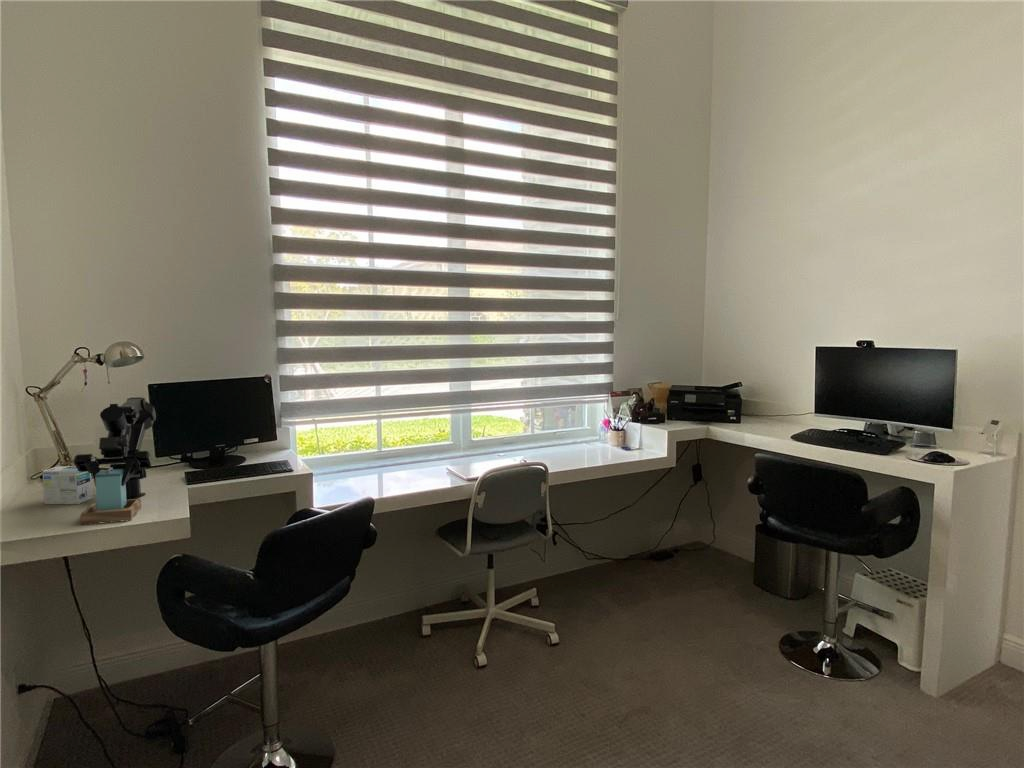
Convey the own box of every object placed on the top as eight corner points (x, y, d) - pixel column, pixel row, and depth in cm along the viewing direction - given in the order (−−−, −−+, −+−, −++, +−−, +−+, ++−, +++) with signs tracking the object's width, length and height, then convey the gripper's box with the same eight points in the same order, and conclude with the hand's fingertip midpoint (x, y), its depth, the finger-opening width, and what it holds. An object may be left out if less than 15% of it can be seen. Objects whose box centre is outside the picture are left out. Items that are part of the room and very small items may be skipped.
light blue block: (102, 505, 173) (100, 466, 171) (126, 503, 175) (124, 465, 173) (97, 510, 167) (94, 471, 166) (121, 508, 170) (119, 469, 168)
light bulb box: (93, 498, 188) (91, 465, 187) (78, 504, 182) (76, 470, 181) (59, 498, 188) (57, 465, 187) (43, 504, 181) (41, 470, 180)
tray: (94, 512, 175) (94, 502, 174) (141, 508, 179) (140, 498, 179) (81, 524, 163) (80, 514, 163) (131, 520, 168) (130, 510, 167)
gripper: (73, 427, 169) (62, 474, 160) (148, 424, 176) (141, 469, 166) (84, 448, 177) (73, 494, 168) (155, 444, 184) (149, 488, 175)
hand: (109, 486), depth 169 cm, fingers closed on light blue block, 6 cm apart
